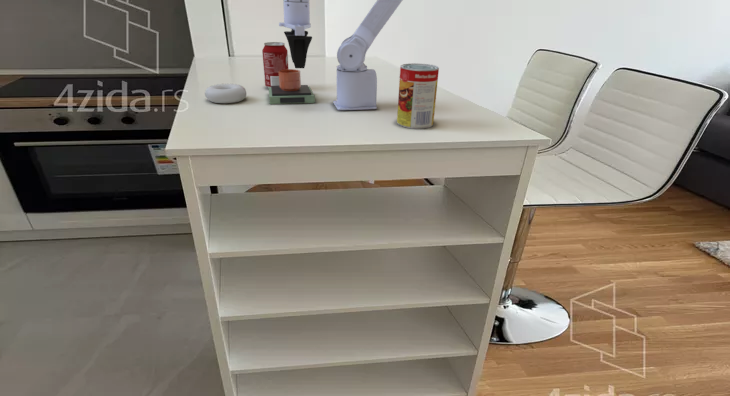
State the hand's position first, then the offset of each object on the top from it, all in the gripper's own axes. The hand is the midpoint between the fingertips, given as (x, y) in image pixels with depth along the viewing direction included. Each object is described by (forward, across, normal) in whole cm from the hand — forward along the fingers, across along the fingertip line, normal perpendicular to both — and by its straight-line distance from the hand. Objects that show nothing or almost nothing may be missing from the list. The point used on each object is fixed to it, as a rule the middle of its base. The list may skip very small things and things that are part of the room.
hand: (298, 65), depth 100 cm
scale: (+9, -7, -2) cm, 12 cm away
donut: (+10, -7, -18) cm, 21 cm away
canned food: (+9, +19, +23) cm, 32 cm away
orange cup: (+7, -7, -2) cm, 10 cm away
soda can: (+10, -20, -5) cm, 23 cm away
